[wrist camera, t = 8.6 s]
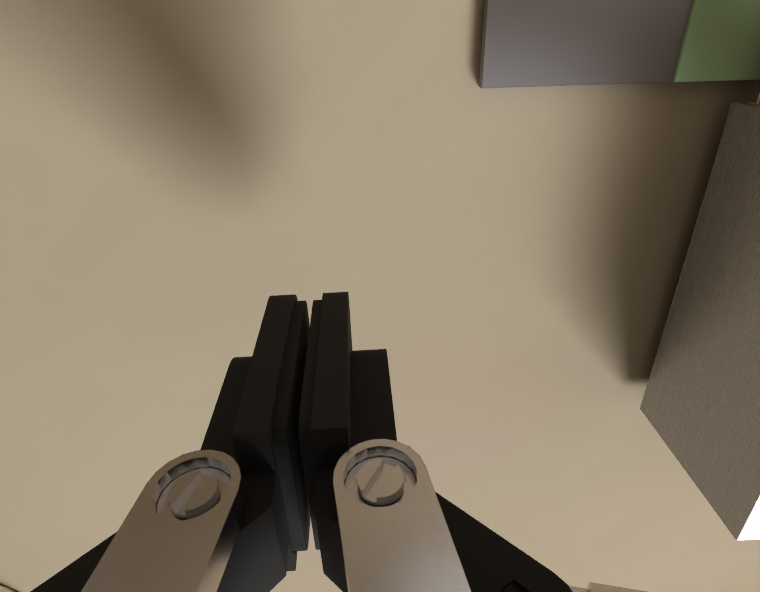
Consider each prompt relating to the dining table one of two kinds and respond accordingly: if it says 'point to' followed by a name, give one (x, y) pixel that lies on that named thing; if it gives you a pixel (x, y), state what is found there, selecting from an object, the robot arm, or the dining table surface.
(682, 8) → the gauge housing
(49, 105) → the dining table surface
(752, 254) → the grey angular frame piece
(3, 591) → the coffee can
